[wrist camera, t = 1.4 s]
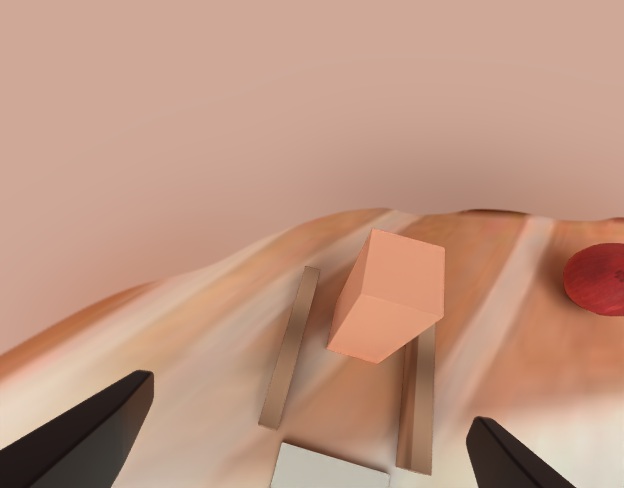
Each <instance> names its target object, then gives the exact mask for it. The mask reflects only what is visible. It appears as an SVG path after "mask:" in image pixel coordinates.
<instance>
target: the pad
mask: <svg viewBox="0 0 624 488" xmlns="http://www.w3.org/2000/svg"><path fill="white" fill-rule="evenodd" d="M389 478H390V474H386V473H383V472H380V471H376V470H373V469H370V468H366V467H363V466H360V465H356V464H353V463H350V462H346V461H343V460H340V459H336V458H333V457H330V456H326V455H323V454H320V453H316V452H313V451H310V450H306V449H303V448H300V447H296V446H293V445H290V444H286V443H283V442H282V444H281V448H280V452H279V455H278V459H277V463H276V467H275V471H274V475H273V479H272V483H271V487H270V488H389Z"/></svg>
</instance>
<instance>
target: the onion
mask: <svg viewBox="0 0 624 488" xmlns="http://www.w3.org/2000/svg"><path fill="white" fill-rule="evenodd" d="M563 283H564V288H565V291H566V293H567V295H568V296H569V297H570V299H571V300H572V301H573V302H575V303H576V304H577V305H579V306H580V307H582V308H584V309H587V310H589V311H591V312H594V313H596V314H599V315H604V316H624V244H621V243H605V244H598V245H593V246H591V247H588V248H586V249H584V250H582V251H580V252H578V253H576V254H575V255H574V256H573V257H571V258H570V259H569V261H568V263H567V265H566V267H565V269H564V273H563Z"/></svg>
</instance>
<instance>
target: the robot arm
mask: <svg viewBox="0 0 624 488" xmlns="http://www.w3.org/2000/svg"><path fill="white" fill-rule="evenodd" d="M153 398H154V374H153V372H151V371H145V370H136V371H134V372H132V373H131V374H129V375H127V376H126V377H124V378H122V379H121V380H119V381H117V382H115V383H114V384H112V385H110V386H109V387H107V388H105V389H104V390H102V391H100V392H98V393H97V394H95V395H93V396H92V397H90V398H88V399H87V400H85V401H83V402H82V403H80V404H78V405H76V406H75V407H73V408H71V409H70V410H68V411H66V412H65V413H63V414H61V415H59V416H58V417H56V418H54V419H53V420H51V421H49V422H48V423H46V424H44V425H42V426H41V427H39V428H37V429H36V430H34V431H32V432H31V433H29V434H27V435H25V436H24V437H22V438H20V439H19V440H17V441H15V442H14V443H12V444H10V445H8V446H7V447H5V448H3V449H2V450H0V488H111V486H112V484H113V483H114V481H115V479H116V477H117V476H118V474H119V472H120V470H121V468H122V467H123V465H124V463H125V461H126V459H127V457H128V454H129V452H130V450H131V448H132V446H133V444H134V442H135V439H136V437H137V435H138V433H139V431H140V429H141V426H142V424H143V422H144V420H145V418H146V416H147V413H148V411H149V409H150V407H151V405H152V402H153ZM466 446H467V450H468V453H469V457H470V460H471V464H472V467H473V470H474V474H475V477H476V481H477V484H478V488H576V487H575V486H573V485H572V484H571V483H570V482H569V481H567V480H566V479H565V478H564V477H562V476H561V475H560V474H559V473H558V472H556V471H555V470H554V469H553V468H552V467H550V466H549V465H548V464H547V463H545V462H544V461H543V460H542V459H541V458H539V457H538V456H537V455H536V454H535V453H533V452H532V451H531V450H530V449H529V448H527V447H526V446H525V445H524V444H522V443H521V442H520V441H519V440H518V439H516V438H515V437H514V436H513V435H512V434H510V433H509V432H508V431H507V430H505V429H504V428H503V427H502V426H501V425H499V424H498V423H497V422H496V421H495V420H493V419H491V418H488V417H481V416H477V417H476V418H474V420H473V423H472V425H471V428H470V430H469V432H468V435H467V438H466Z"/></svg>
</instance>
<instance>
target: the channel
mask: <svg viewBox="0 0 624 488" xmlns="http://www.w3.org/2000/svg"><path fill="white" fill-rule="evenodd" d="M319 274H320V270H318V269H315V268H311V267H308V266H305V270H304V273H303V276H302V280H301V283H300V286H299V290H298V293H297V296H296V299H295V303H294V306H293V309H292V313H291V316H290V319H289V323H288V326H287V329H286V333H285V336H284V339H283V343H282V346H281V349H280V353H279V356H278V359H277V363H276V366H275V369H274V373H273V376H272V379H271V383H270V386H269V389H268V393H267V396H266V399H265V403H264V406H263V409H262V413H261V416H260V419H259V423H258V425H259V426H261V427H265V428H268V429H271V430H275V431H277V430H278V427H279V423H280V420H281V416H282V412H283V408H284V405H285V401H286V397H287V393H288V390H289V386H290V382H291V378H292V375H293V371H294V367H295V363H296V360H297V356H298V352H299V349H300V345H301V341H302V337H303V334H304V330H305V326H306V322H307V319H308V315H309V311H310V307H311V304H312V300H313V296H314V292H315V289H316V285H317V281H318V277H319ZM435 329H436V323H434V324H433V325H432V326H430V327H429V328H427V329H426V330H425V331H423V332H422V333H420V334H419V335H418V336H416V337H415V338H413V339H412V340H411V341H409V342H408V343H406V350H405V362H404V374H403V387H402V399H401V412H400V424H399V437H398V449H397V461H396V467H398V468H402V469H405V470H408V471H412V472H415V473H420V474H425V475H430V476H431V469H432V434H433V399H434V364H435Z"/></svg>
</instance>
